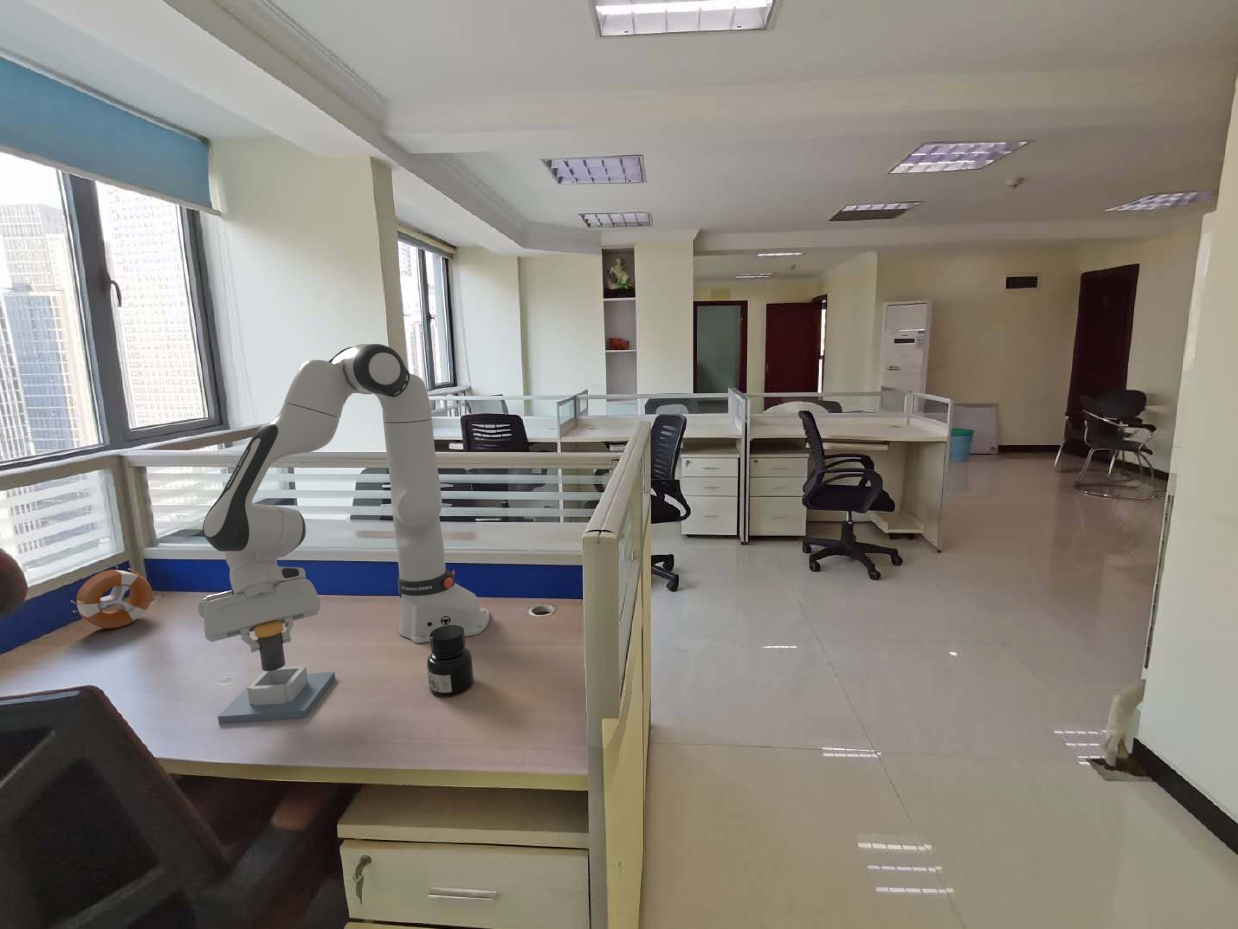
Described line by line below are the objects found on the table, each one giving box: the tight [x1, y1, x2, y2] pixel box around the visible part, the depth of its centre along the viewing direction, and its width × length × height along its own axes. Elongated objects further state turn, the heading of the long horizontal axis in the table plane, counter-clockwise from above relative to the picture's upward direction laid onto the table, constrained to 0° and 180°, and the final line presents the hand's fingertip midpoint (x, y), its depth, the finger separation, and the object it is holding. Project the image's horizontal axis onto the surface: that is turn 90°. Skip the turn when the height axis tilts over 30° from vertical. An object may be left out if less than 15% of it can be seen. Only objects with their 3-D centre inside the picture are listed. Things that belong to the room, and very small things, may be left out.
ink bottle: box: [426, 625, 474, 698], centre depth 121 cm, size 10×9×12 cm
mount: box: [217, 665, 336, 725], centre depth 118 cm, size 16×14×5 cm
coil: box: [70, 566, 153, 630], centre depth 154 cm, size 7×15×15 cm, turn 147°
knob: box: [253, 621, 286, 672], centre depth 116 cm, size 5×5×8 cm
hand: (271, 646), depth 116 cm, fingers closed on knob, 4 cm apart
